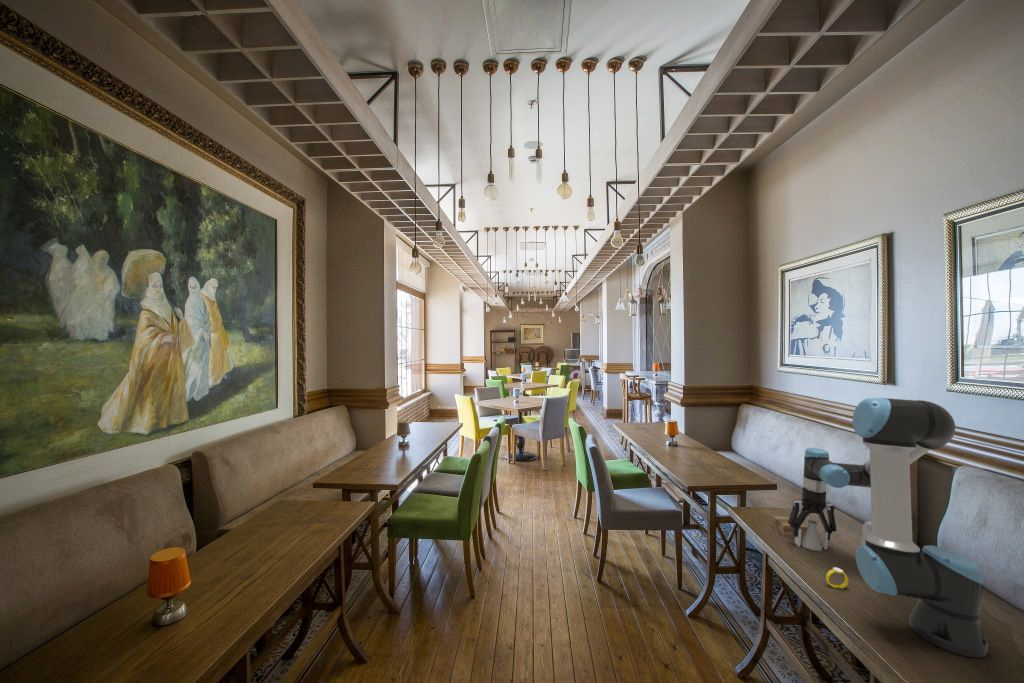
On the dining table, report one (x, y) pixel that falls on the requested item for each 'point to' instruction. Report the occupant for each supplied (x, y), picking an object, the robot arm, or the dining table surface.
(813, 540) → the flask
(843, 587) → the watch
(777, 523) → the stacked wooden planks
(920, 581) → the robot arm
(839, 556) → the dining table surface
